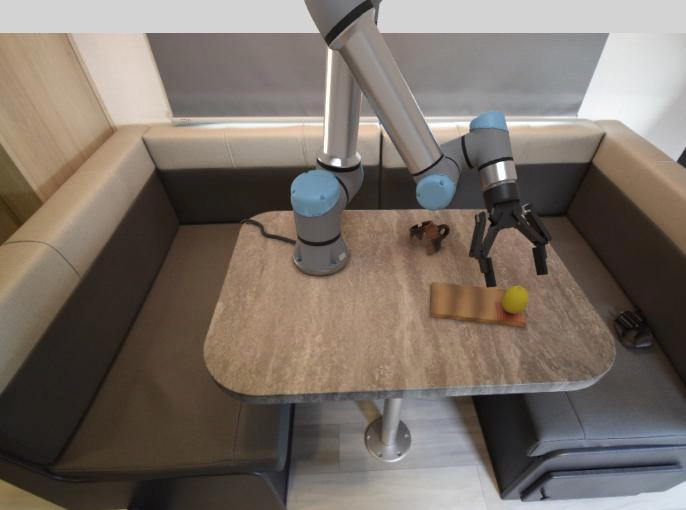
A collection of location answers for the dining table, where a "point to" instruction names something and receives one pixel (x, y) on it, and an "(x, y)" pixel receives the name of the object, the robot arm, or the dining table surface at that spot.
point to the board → (472, 304)
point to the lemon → (515, 299)
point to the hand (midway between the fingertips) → (517, 281)
